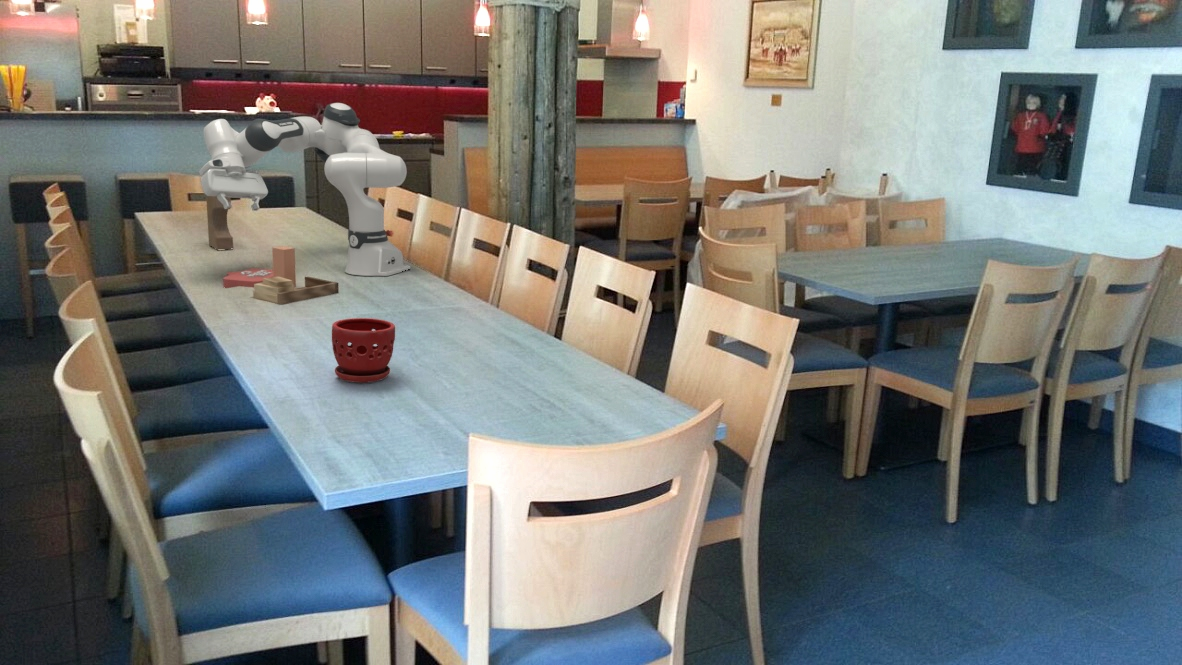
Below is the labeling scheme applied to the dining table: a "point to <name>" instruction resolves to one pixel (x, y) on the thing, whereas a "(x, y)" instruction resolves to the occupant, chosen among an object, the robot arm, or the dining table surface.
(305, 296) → the brown wooden tray
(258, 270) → the plaque
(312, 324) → the dining table surface
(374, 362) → the plant pot
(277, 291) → the offcut stack
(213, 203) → the decorative block
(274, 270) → the salmon orange upright block
